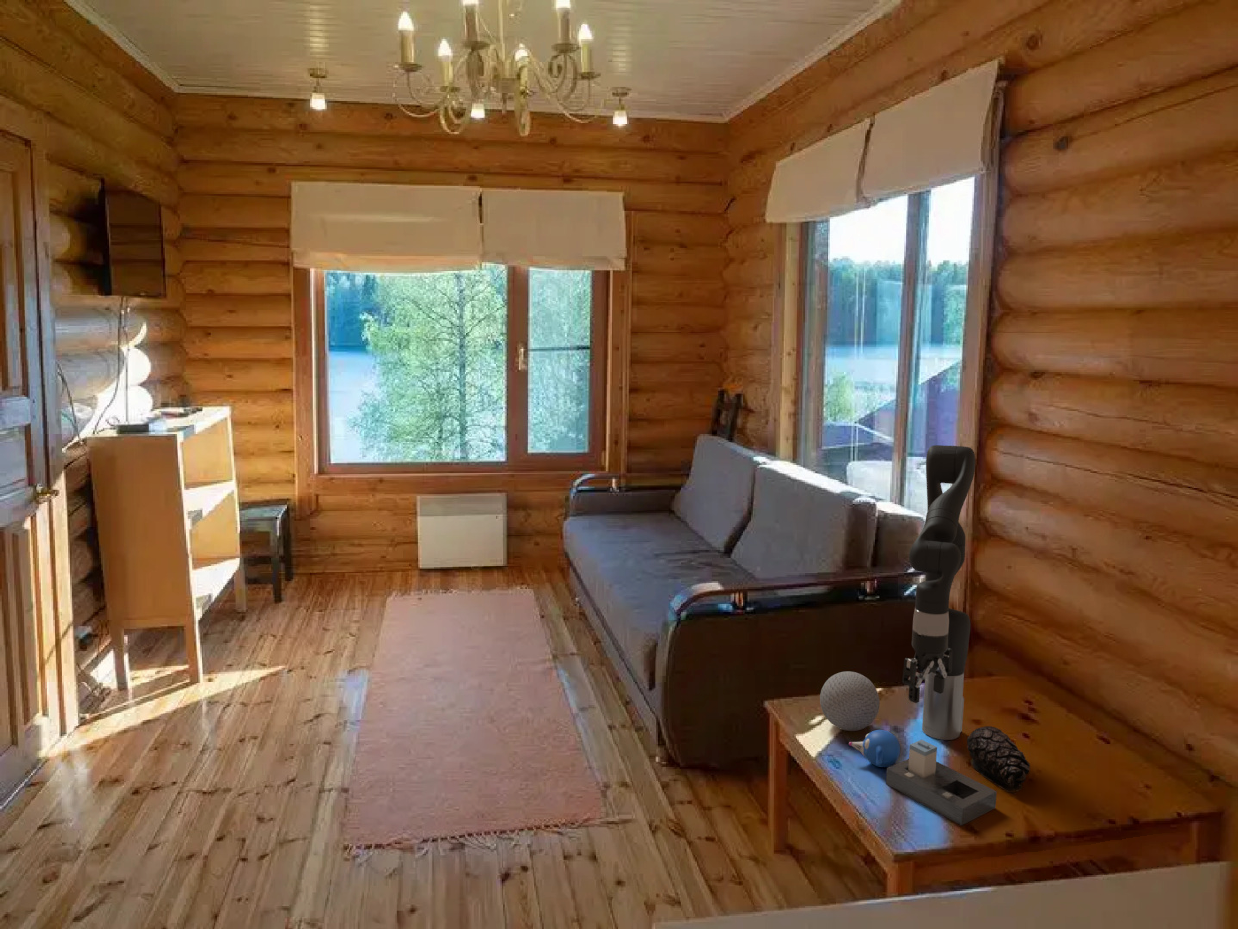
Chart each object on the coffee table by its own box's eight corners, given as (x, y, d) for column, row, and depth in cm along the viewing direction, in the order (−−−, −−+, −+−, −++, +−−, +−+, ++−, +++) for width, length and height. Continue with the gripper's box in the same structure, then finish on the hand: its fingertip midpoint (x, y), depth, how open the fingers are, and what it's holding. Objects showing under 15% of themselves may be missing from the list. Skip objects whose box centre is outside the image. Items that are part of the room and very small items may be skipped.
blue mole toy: (849, 748, 222) (851, 716, 220) (899, 755, 218) (901, 723, 217) (846, 771, 210) (847, 738, 209) (898, 780, 207) (900, 746, 205)
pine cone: (1009, 798, 199) (1013, 757, 197) (956, 760, 216) (959, 722, 214) (1046, 790, 202) (1050, 749, 201) (991, 753, 219) (994, 715, 217)
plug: (919, 779, 207) (921, 737, 205) (934, 787, 204) (937, 744, 202) (907, 784, 205) (909, 742, 203) (922, 793, 201) (925, 749, 199)
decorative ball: (881, 744, 224) (884, 688, 221) (820, 739, 226) (822, 683, 224) (875, 717, 238) (877, 664, 236) (817, 712, 241) (819, 660, 238)
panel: (919, 769, 212) (920, 752, 211) (995, 808, 195) (996, 790, 194) (886, 784, 205) (886, 767, 204) (961, 825, 189) (962, 807, 188)
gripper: (936, 617, 204) (932, 683, 207) (895, 630, 197) (891, 698, 200) (965, 627, 198) (960, 695, 201) (923, 640, 190) (919, 711, 193)
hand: (926, 697), depth 200 cm, fingers open, 8 cm apart
